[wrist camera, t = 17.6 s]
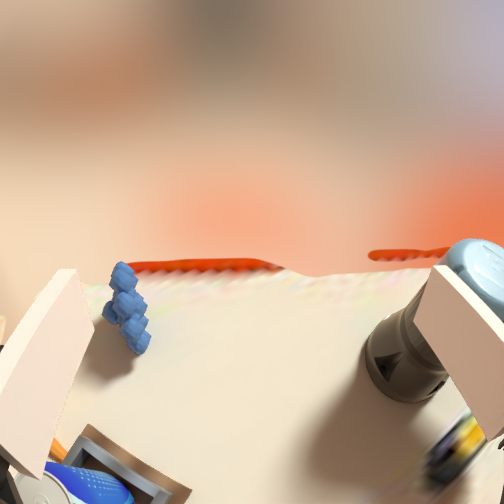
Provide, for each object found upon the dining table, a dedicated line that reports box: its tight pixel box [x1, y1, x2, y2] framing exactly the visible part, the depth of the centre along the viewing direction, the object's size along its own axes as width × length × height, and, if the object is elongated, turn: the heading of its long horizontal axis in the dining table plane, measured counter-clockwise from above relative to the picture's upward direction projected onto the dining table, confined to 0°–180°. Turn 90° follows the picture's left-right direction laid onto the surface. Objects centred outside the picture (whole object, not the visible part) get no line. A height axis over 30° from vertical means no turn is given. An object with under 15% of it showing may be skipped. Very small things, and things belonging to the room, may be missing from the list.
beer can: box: [14, 462, 135, 504], centre depth 19 cm, size 8×8×16 cm
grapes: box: [102, 262, 151, 354], centre depth 39 cm, size 12×7×12 cm, turn 19°
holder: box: [61, 424, 192, 504], centre depth 24 cm, size 16×16×4 cm
